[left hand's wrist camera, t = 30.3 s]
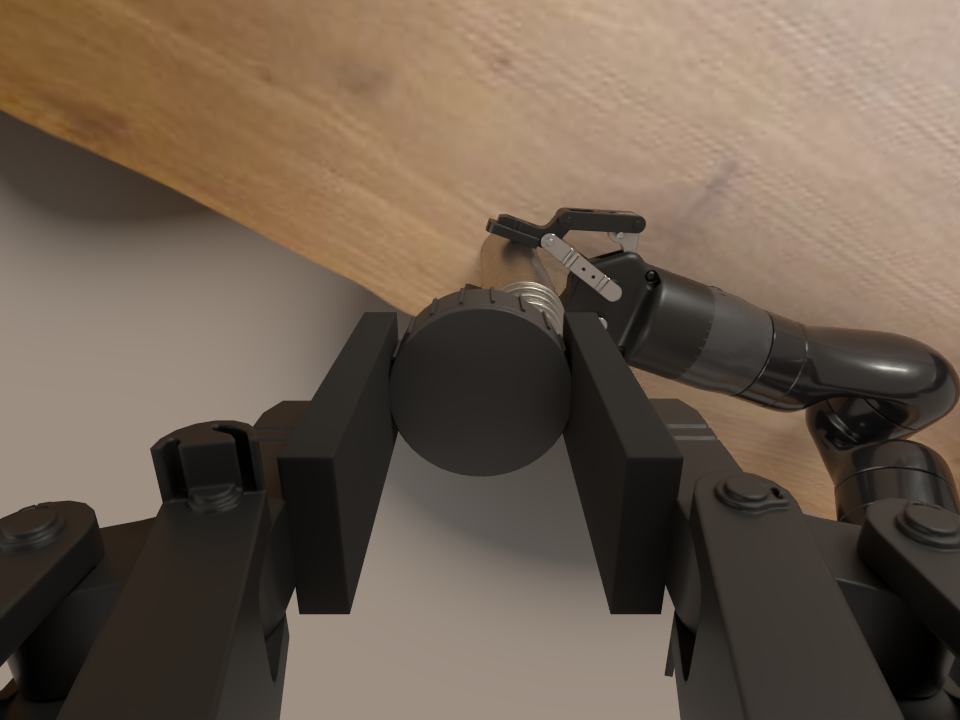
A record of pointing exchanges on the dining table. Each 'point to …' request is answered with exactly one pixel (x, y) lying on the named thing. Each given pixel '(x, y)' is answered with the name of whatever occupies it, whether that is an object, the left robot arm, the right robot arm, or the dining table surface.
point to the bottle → (520, 276)
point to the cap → (480, 383)
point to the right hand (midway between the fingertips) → (476, 258)
